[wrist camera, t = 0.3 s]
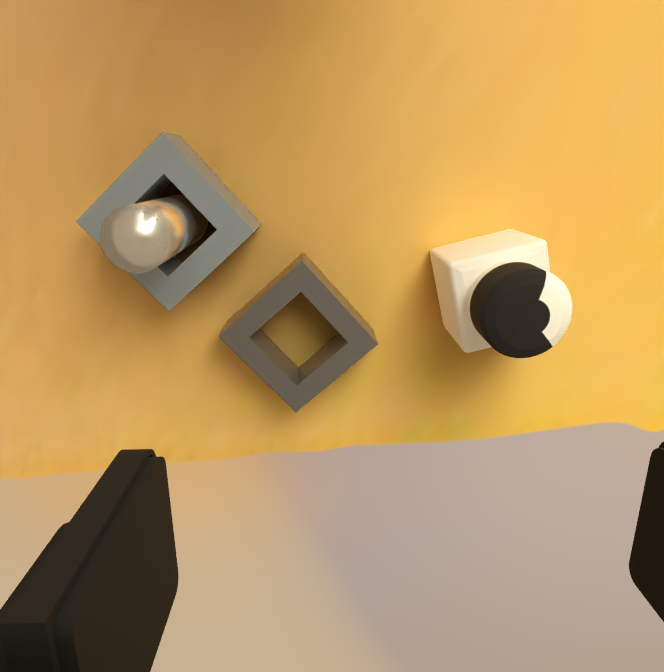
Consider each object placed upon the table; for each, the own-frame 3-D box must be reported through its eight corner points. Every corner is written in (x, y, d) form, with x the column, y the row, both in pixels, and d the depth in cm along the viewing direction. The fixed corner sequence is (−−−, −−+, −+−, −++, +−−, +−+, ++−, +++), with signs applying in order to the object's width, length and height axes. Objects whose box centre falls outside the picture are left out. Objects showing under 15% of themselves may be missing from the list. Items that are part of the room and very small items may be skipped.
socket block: (103, 215, 42) (76, 221, 38) (180, 136, 41) (162, 132, 36) (184, 295, 45) (168, 311, 40) (261, 224, 43) (254, 231, 38)
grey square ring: (226, 321, 46) (218, 336, 42) (303, 252, 44) (302, 261, 40) (297, 392, 48) (295, 412, 44) (372, 329, 46) (378, 344, 42)
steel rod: (147, 217, 43) (85, 237, 31) (181, 183, 42) (131, 191, 30) (183, 254, 44) (136, 286, 32) (217, 221, 43) (181, 242, 31)
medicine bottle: (442, 327, 46) (483, 380, 35) (428, 248, 44) (466, 278, 33) (523, 307, 46) (591, 355, 34) (512, 227, 44) (581, 249, 32)
